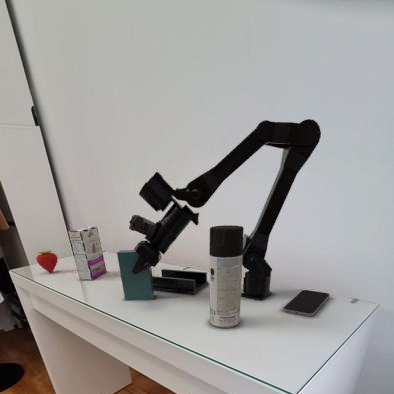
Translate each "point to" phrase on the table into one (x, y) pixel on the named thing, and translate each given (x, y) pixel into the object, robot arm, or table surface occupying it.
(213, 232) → the spray can
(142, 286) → the book
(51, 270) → the strawberry
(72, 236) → the candy bar box
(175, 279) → the black rack
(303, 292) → the smartphone
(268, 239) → the robot arm
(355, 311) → the table surface
